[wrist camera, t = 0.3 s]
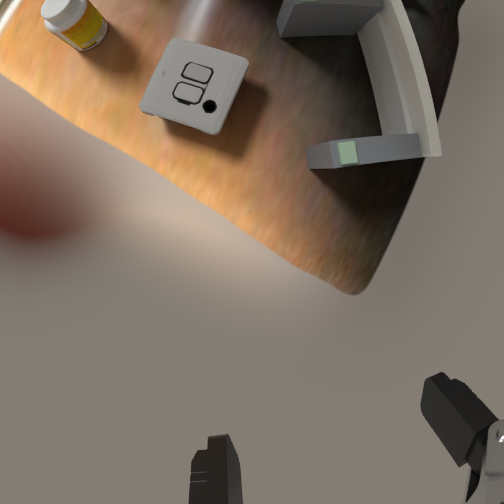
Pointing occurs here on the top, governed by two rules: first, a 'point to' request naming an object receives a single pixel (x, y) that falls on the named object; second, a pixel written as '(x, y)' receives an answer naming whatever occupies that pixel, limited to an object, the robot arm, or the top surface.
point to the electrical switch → (194, 85)
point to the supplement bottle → (74, 22)
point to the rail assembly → (373, 78)
